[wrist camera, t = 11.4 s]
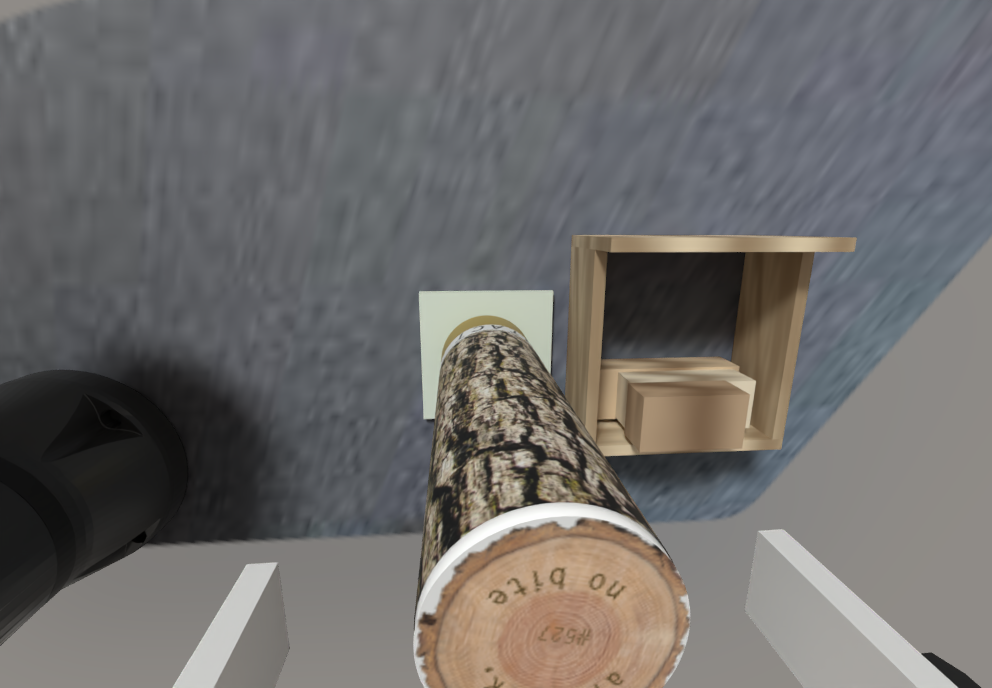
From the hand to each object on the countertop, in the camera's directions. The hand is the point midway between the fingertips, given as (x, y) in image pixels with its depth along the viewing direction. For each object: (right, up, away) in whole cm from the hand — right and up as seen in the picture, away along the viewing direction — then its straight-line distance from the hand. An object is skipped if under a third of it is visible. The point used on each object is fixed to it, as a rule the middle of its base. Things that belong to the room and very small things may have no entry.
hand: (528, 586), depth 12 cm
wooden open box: (+12, +8, +24) cm, 28 cm away
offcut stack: (+12, +4, +25) cm, 28 cm away
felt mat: (-2, +6, +23) cm, 24 cm away
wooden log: (-2, +6, +23) cm, 24 cm away
